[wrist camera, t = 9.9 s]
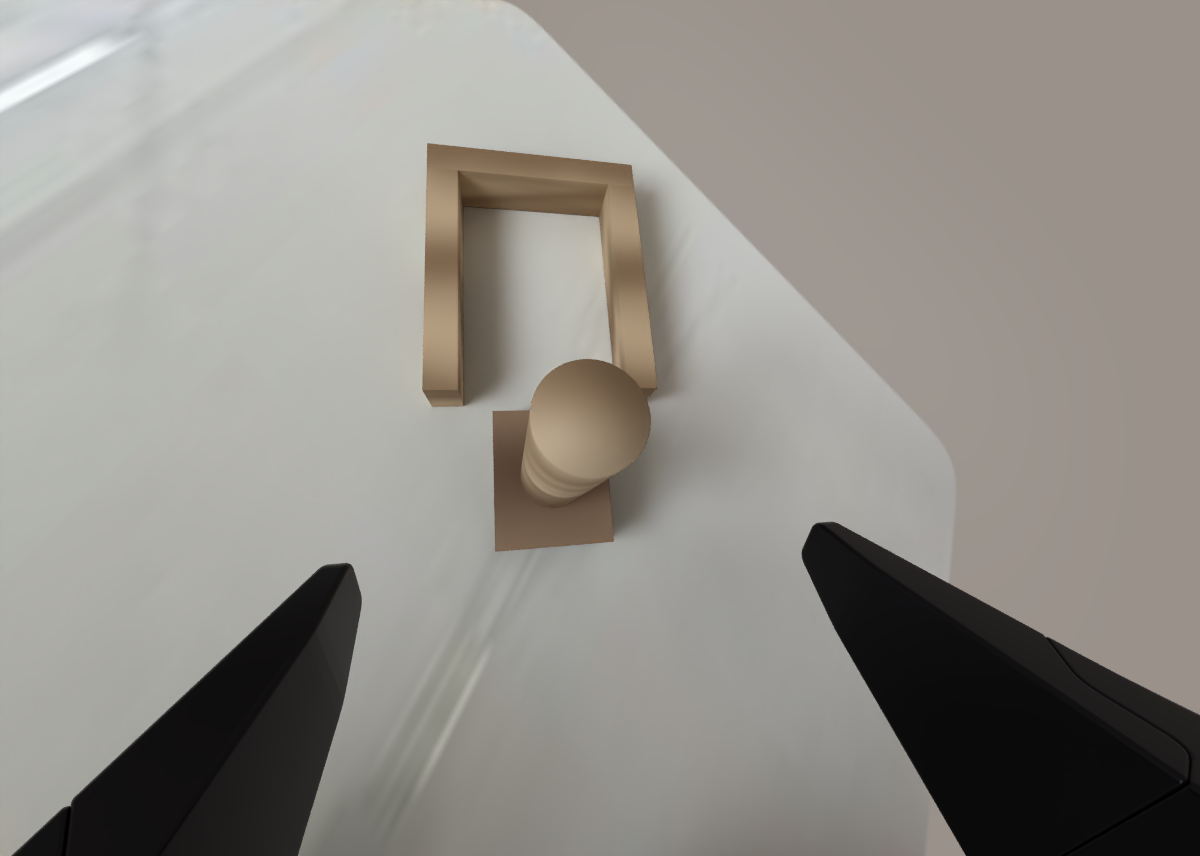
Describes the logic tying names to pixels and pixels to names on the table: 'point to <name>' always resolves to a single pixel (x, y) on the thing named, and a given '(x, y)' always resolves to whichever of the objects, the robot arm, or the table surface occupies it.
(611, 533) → the dowel block
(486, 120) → the table surface
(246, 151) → the table surface
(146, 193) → the table surface
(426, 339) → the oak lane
